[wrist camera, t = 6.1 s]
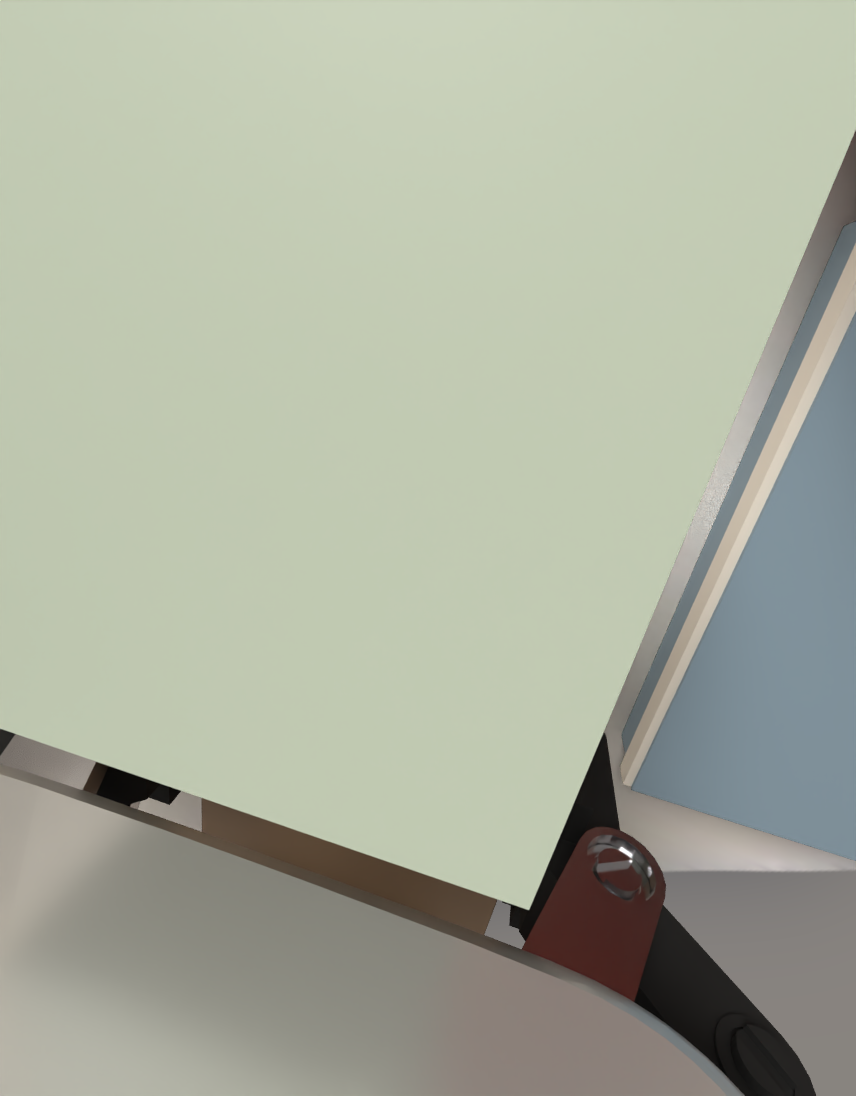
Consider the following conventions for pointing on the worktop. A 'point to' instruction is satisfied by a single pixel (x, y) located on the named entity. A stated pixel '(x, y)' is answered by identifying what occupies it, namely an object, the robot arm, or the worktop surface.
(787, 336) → the worktop surface
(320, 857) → the brown wooden block
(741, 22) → the pale green cube
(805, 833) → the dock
